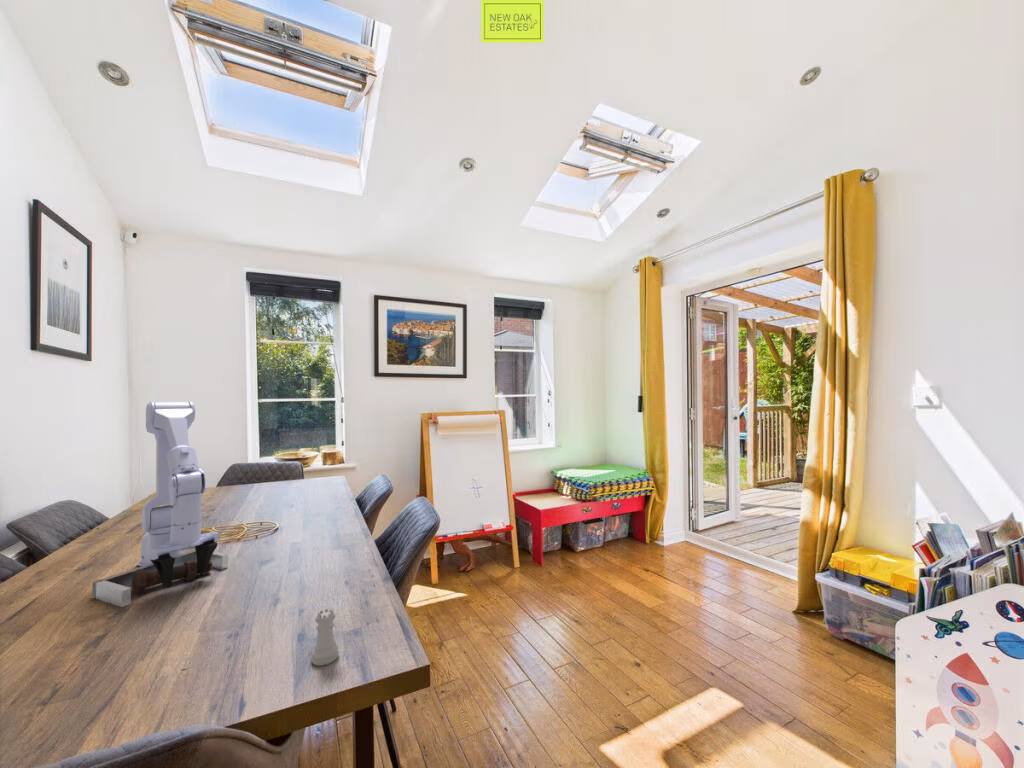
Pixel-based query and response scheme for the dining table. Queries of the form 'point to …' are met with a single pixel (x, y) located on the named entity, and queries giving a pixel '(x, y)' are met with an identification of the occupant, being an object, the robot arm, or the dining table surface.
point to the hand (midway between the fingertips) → (184, 579)
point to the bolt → (153, 578)
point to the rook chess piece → (325, 640)
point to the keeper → (119, 585)
